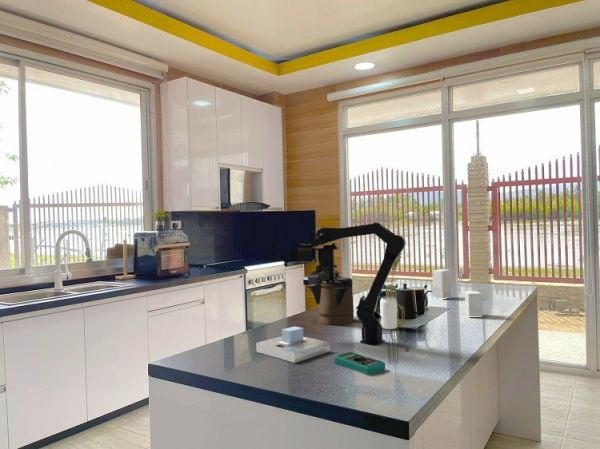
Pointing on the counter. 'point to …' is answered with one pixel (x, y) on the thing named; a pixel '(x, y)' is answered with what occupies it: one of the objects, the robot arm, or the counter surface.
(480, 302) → the small box
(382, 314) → the can
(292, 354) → the white flat slab
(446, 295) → the skincare box
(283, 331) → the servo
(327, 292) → the wooden container
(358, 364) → the digital multimeter
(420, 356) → the counter surface
